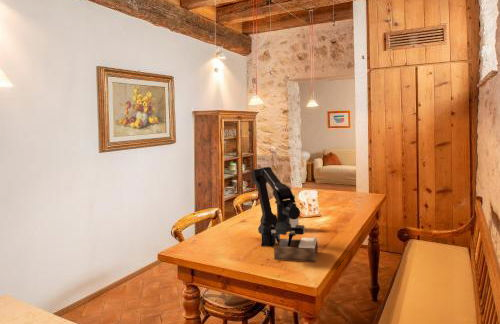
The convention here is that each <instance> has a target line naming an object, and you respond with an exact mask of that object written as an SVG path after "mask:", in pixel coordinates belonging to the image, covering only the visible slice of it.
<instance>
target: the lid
mask: <svg viewBox="0 0 500 324" xmlns="http://www.w3.org/2000/svg"><path fill="white" fill-rule="evenodd" d="M300 240H301V241H300V244H299V248H315V245H316V241H317V242H318V238H317V236H314V237H301V239H300Z"/></svg>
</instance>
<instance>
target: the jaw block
mask: <svg viewBox="0 0 500 324" xmlns="http://www.w3.org/2000/svg"><path fill="white" fill-rule="evenodd" d="M280 239H281V240H280V242H279V245H278V246H279V247H288V241H289V240H285V239H286V238H280Z"/></svg>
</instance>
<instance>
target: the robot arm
mask: <svg viewBox="0 0 500 324" xmlns="http://www.w3.org/2000/svg"><path fill="white" fill-rule="evenodd" d="M250 178H251V180H252V183H253V184H254V185H255V186H256V189H257V194H258V199H259V203H260V208H261V214H262V215H261V218H260V221H259V222H260V224H259V226H258V228H257V230H258V233H259V234H260V235H261V244H260V246H261V247H274V246H275V245H276V243H277V245H278V246H279V242H280V239H281V235H282V236H286V235H288V239H289V241H288V247H290V244H291V240H292V239H293V237H295V236H296V235H298V236H301V235H302V236H303V235H304V234H305V231H306V230H305V225H303V224H302V225H301V224H299V225H296V226H295V227H291V224H290V218H291V219H297V218H298V219H299V217H300V214H301V210H300V208H299V207H298V206H297V207H296V205H297V204H295V203H296V197H295V198H294V196H293V195H294V193H293V192H292V190H291V188H290V187H289V186H288V185H287V184H285V183H282V182H281V180H280V179H279V178H278V177H277V175H276V174H275V173H274V171H273V169H272V167H271V166H263V167H260V168H254V169H252V171H250ZM267 184H269V186H270V187H271V189H272V195H273V197H274V199H275V202H274V203H275V204H276V214H274V213H273V212H272V205H271V202H270V195H269V191H268V187H267ZM287 199H290V200H287ZM294 199H295V200H294Z"/></svg>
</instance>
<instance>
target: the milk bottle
mask: <svg viewBox="0 0 500 324" xmlns="http://www.w3.org/2000/svg"><path fill="white" fill-rule="evenodd" d="M293 196H294V198H295V199H294V200H295V201H296V195H295V194H293ZM287 200H290V199H287ZM295 204H296V202H295ZM296 207H298V205H297V204H296ZM290 224H291V227H295V226H296V225H300V224H299V217H298V218H297V219H291V218H290Z"/></svg>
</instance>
